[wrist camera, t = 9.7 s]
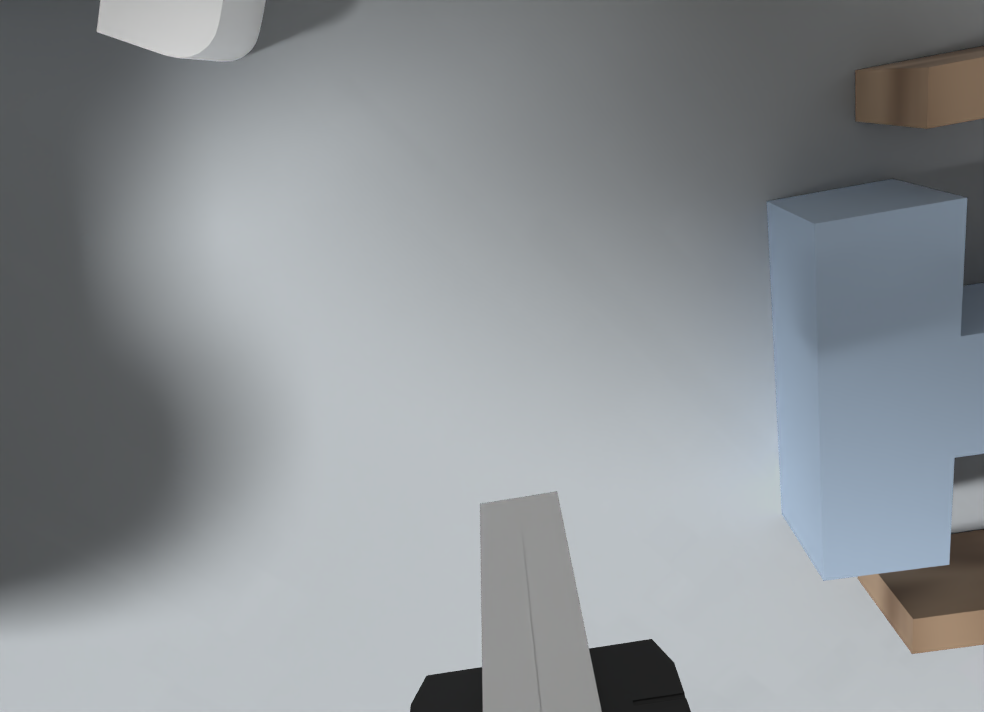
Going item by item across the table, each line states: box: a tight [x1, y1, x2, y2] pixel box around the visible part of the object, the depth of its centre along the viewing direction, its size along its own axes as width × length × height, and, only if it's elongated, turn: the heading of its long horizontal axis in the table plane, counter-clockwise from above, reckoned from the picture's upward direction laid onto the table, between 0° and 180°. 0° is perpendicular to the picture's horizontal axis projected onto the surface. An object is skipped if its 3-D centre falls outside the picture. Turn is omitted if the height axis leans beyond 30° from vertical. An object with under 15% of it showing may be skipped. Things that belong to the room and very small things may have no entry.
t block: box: [767, 179, 984, 581], centre depth 23 cm, size 10×12×4 cm
